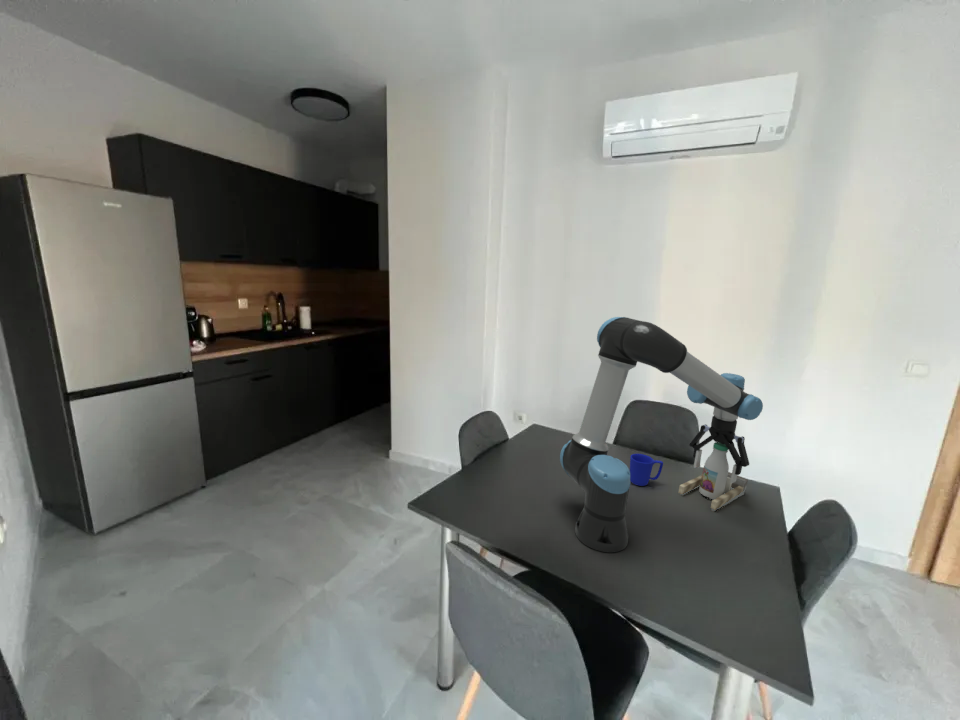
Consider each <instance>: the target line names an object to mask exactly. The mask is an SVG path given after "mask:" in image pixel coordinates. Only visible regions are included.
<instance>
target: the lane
mask: <svg viewBox="0 0 960 720" xmlns="http://www.w3.org/2000/svg"><path fill="white" fill-rule="evenodd" d="M731 475H732V472H730V471H728V476H727V477H730V478H731ZM701 478H702V474H700V475H699V476H697V477H695V478H692V479H690V480H688V481H686V482H684V483H682V484H679V487H678V492H677V494H678V493H680V494H684V493H686V492H688V491H690V490H692V489H694V488H695V487H697V486H699V485H700V482H701ZM748 482H749V480H748V479H747V478H745V477H742V476H740V475H737V479H736V482H734V483H732V485H731V487H732V488H734V489H732V490H730V491H729V492H727V493H725V494H723V495H721V496H719V497H718V498H716V499H714V500H711V504H710V508H712V509H714V510H716V509H717V508H719V507H721V506H722V505H723V504H725V503H726V502H728V501H729V500H731V499H732V498H734V497H735V496H737V495H739V494H740V493H741V492H743V491H744V490H746V491H747V486H748Z"/></svg>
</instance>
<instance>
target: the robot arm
mask: <svg viewBox="0 0 960 720" xmlns="http://www.w3.org/2000/svg"><path fill="white" fill-rule="evenodd" d="M596 341H597V343H598V346H599V351H598V354H597V357H598V359H600V365H599V368H598V372H597V374H596V377H595V380H594V383H593V386H592V389H591V393H590V396H589V400H588V404H587V407H586V410H585V413H584V415H583V419H582V422H581V424H580V425H581V426H580V428H579V430H578V432H577V433H576V434H573V435H572V437H571V439H570V440H568V441H567V443H565V444H564V445H563V446H562V448H561V450H560V453H559V462H560V465H561V467H562V470H564V472H565V473H566V475H567V476H568V477H569V478H571V479H572V480H573V481H574V482H575V483H576V484H577V485H578V486H579V487H580V488H581V489H582V490H583V491H584V492H585V495H584V502H583V503H584V504H583V505H584V506H583V509H582V510H581V512H580V514H579V516H578V518H577V520H576V522H575V529H574V532H575V535H576V537H577V539H578V540H579V541H580V542H581V543H582V544H583V545H585V546H586V547H589V548H590V549H593V550H595V551H597V552H598V551H599V552H603V553H617V552H622V551H623V550H624V549H626V547H627V546H628V542H629V531H628V529H627V528H628V527H627V522H626V511H627V505H628V499H629V492H630V488H631V481H630V467H628V465H627V464H626V463H625V462H623V461H622V460H621V459H619V458H617V457H613V456H612V455H608V452H609V446H608V444H607V443H606V442H607V438H608V436H609V433H610V430H611V427H612V424H613V421H614V417H615V414H616V410H617V407H618V406H619V403H620V402H619V401H620V399H621V396H622V392H623V389H624V387H625V384H626V380H627V377H628V375H629V372H630V370H632V369H634V368H636V366H637V363H640V364H644V365H647V366H649V367H652V368H655V369H657V370H658V371H660V372H662V373H664V374H671V375H672V376H673V377H676V379H678V380H680V381H682V382H683V383H685V384H686V385H687V390H686V395H687V398H688V400H689V401H690V402H691V403H693V404H698V405H702V404H705V405H709V406H712V407H713V412H712V418H711V423H710V426H708V424H702V425H701V426H700V428H699V429H700V430H699V431H698V432H697V433H696V435H695V436H694V438H693V439H692V441H690V443H689V447H691V448H693V454H692V458H694V463H693V468H694V469H696V468H699V467H700V463H701V460H702V459H701V458H702V454H703V450H702V448H703V447H705V446H706V445H708V444H709V443H710V442H712V441H714V443H715V442H719V443H721V444H725V445H726V447H727V448H728V451H729V454H730V455H731V457H732V459H733V461H734V463H735V464H733V467H732V472H731V473H732V475H731V480H730V483H734V482H736V479H737V476H740V475H741V473H742V469H743V467H744V468H745V467H748V466H750V461H749V457H748V453H747V449H746V446H745V445H746V444H745V436H738V435H736V429H737V425H738V421H737V420H738V418H739V419H745V420H747V421H753V420H755V419H757V418H758V417H759V416H760V415H761V413H762V412H763V407H764V404H763V401H762V400H761V398H759V397H758V396H756V395H754V394H751V393H747V392H745V391H744V390H745V381H746V380H745V379H746V378H745V377H744V376H743V375H740V374H735V373H730V372H729V373H728V372H724V373H721V374H719V373H718V372H717V371H715V370H714V369H712V368H711V367H710V366H708V365H707V364H705V362H703V361H701V360H700V359H698V358H697V357H695V356H694V355H693V354H692V353H691V352H689V351H688V349H687V346H686V345H685V344H684V343H682V342H681V341H679V340H678V339H677V338H675V337H674V336H673V335H671V334H670V333H669V332H667V331H666V330H664V329H663V328H661V327H660V326H658V325H657V324H654V323H652V322H650V321H645V320H638V319H634V318H630V317H626V316H623V317H622V316H621V317H620V316H614V317H611V318H609V319H607V320H606V321H604V322H603V323H602V324H601V326H600V327H599V329H598V331H597V335H596ZM707 432H709V436H708V437H707V438H705V439H704V440H702V441H701V442H700V440H701V439H702V438H703V436H704V435H705V434H706V433H707ZM734 440H735V442H736V445H737V448H736V446H735V443H734ZM699 442H700V443H699Z"/></svg>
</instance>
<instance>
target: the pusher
mask: <svg viewBox="0 0 960 720" xmlns="http://www.w3.org/2000/svg"><path fill="white" fill-rule="evenodd" d="M730 480H731V478H730V477H727V481H726V485H725V490H724V493H727V492H729V491H730V490H731V485H732V483H730Z"/></svg>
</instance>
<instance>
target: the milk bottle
mask: <svg viewBox="0 0 960 720" xmlns="http://www.w3.org/2000/svg"><path fill="white" fill-rule="evenodd" d="M728 451H729V450H728V448H727V447H726V445H725V444H721V443H719V442H715V441H714V443H713V446H712V452H711V454H710V455H709V456H708V457H707V458H706V459H705V462H704V465H703V469H702V474H701V475H702V478H701V482H700V487H699V488H698V493H699V492H700V493H701V494H703V495H704V496H707V497H710V498H718V497H719V496H721V495H723V494H724V490H725V485H726V481H727V476H728V472H730V471H729V470H730V468H729V467H730V466H729V462H728V458H727V454H728ZM700 493H699V494H700ZM701 494H700V495H701Z"/></svg>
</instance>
